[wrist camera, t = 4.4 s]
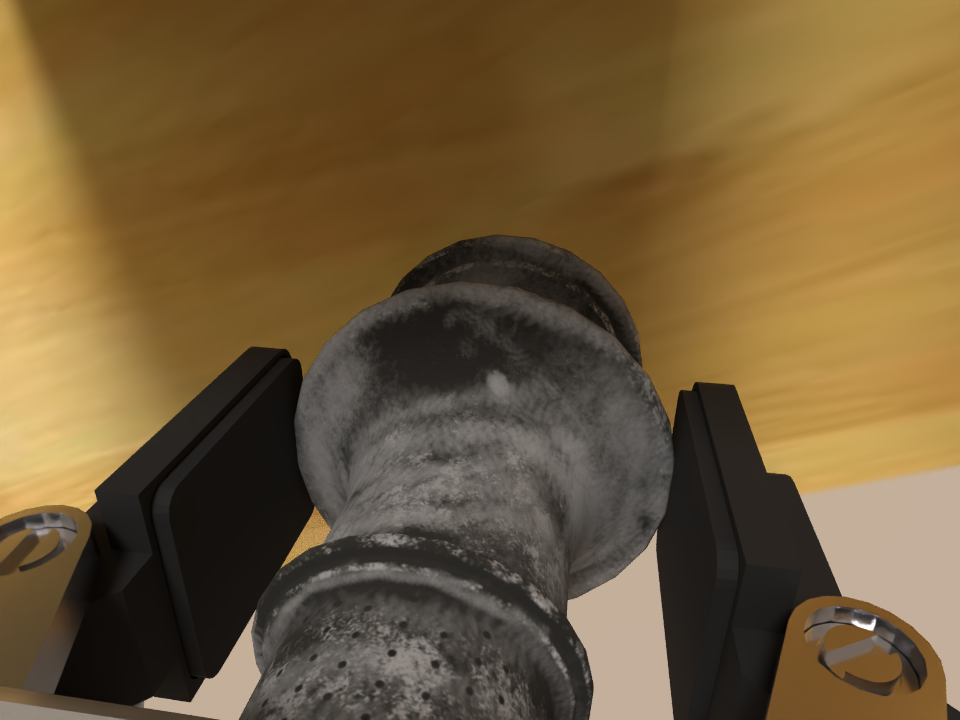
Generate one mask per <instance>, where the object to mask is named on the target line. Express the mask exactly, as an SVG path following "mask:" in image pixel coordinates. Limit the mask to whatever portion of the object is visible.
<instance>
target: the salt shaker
mask: <svg viewBox="0 0 960 720" xmlns="http://www.w3.org/2000/svg"><path fill="white" fill-rule="evenodd" d="M294 427H295V437H296V446H297V456H298V465H299V468H300V471H301V474H302V477H303V480H304V482H305V485H306V488H307V490H308V493H309V496H310V498H311V501H312V502H313V504H314V505H315V507H316V508H317V510H318V511H319V513H320V514H321V515H322V517H323V518H324V520H325V521H326V523H327V524H328V525H329V527H330V528H331V531H330V532H329V534H328V536H327V538H326V540H325V542H324V544H322V545H319V546H316V547H312V548H309V549H308V550H306V551H305V552H304V553H302V554H301V555H299V556H298V557H296V558H295V559H294V560H292V561H291V562H289V563H288V564H286V565H285V566H284V567H282V568H281V569H280V570H279V571H278V572H277V574H276V575H275V577H274V578H273V580H272V581H271V583H270V584H269V586H268V587H267V588H266V590H265V591H264V593H263V594H262V596H261V597H260V599H259V601H258V603H257V608H256V613H255V617H254V622H253V627H252V631H251V633H252V639H253V646H254V653H255V659H256V664H257V666H258V668H259V671H260V673H261V675H262V677H261V679H260V680H259V682H258V684H257V686H256V688H255V690H254V691H253V694H252V695H251V697H250V699H249V701H248V703H247V705H246V707H245V709H244V711H243V713H242V714H241V716H240V718H239V720H589V717H590V710H591V704H592V698H593V680H592V676H591V671H590V666H589V662H588V657H587V653H586V650H585V648H584V646H583V644H582V643H581V641H580V639H579V638H578V636H577V634H576V633H575V631H574V630H573V627H572V626H571V624H570V622H569V621H568V619H567V601H568V600H570V599H574V598H577V597H579V596H581V595H583V594H585V593H587V592H589V591H590V590H592V589H594V588H596V587H598V586H600V585H602V584H604V583H605V582H607V581H609V580H611V579H613V578H615V577H616V576H617V575H618V574H619V573H620V572H622V571H623V570H624V569H625V568H626V567H627V566H628V565H629V564H630V563H631V562H632V561H633V560H634V559H635V558H636V557H637V556H638V555H640V554H641V553H642V552H643V551H644V550H645V549H646V548H647V546H648V544H649V543H650V541H651V539H652V537H653V536H654V534H655V532H656V530H657V529H658V527H659V525H660V524H661V522H662V520H663V518H664V517H665V514H666V509H667V503H668V497H669V492H670V486H671V480H672V474H673V466H674V451H673V443H672V434H671V426H670V421H669V419H668V416H667V414H666V412H665V410H664V408H663V405H662V403H661V401H660V399H659V397H658V394H657V392H656V390H655V388H654V385H653V383H652V381H651V379H650V377H649V376H648V375H647V373H646V372H645V371H644V370H643V369H642V360H641V352H640V344H639V337H638V331H637V329H636V326H635V324H634V322H633V320H632V317H631V315H630V313H629V311H628V309H627V306H626V304H625V302H624V300H623V299H622V297H621V296H620V295H619V294H618V293H617V291H616V290H615V289H614V288H613V287H612V286H611V284H610V283H609V282H608V281H607V280H606V278H605V277H604V276H603V275H602V274H601V272H599V271H598V270H596V269H595V268H593V267H592V266H590V265H589V264H588V263H586V262H585V261H583V260H582V259H580V258H579V257H577V256H576V255H575V254H573V253H572V252H570V251H568V250H565V249H562V248H560V247H557V246H554V245H551V244H549V243H546V242H543V241H540V240H537V239H535V238H527V237H516V236H505V235H492V236H486V237H480V238H474V239H468V240H462V241H459V242H456V243H454V244H452V245H450V246H448V247H446V248H444V249H442V250H439V251H437V252H435V253H433V254H431V255H429V256H427V257H426V258H425V259H424V260H423V261H422V262H420V263H419V264H418V265H417V266H416V267H415V268H414V269H412V270H411V271H410V272H409V273H408V274H407V275H406V276H404V277H403V278H402V280H401V281H400V283H399V284H398V286H397V287H396V289H395V291H394V292H393V294H392V295H391V297H390V298H388V299H386V300H384V301H381V302H379V303H377V304H375V305H373V306H370V307H368V308H366V309H364V310H362V311H361V312H359V313H358V314H357V315H356V316H355V317H354V318H353V319H351V320H350V321H349V322H348V323H347V324H346V325H345V326H344V327H342V328H341V329H340V330H339V331H338V332H337V333H336V334H334V335H333V336H332V337H331V338H330V339H329V340H328V341H327V342H326V343H325V344H324V346H323V347H322V349H321V351H320V352H319V354H318V356H317V358H316V359H315V361H314V363H313V364H312V366H311V368H310V369H309V371H308V373H307V374H306V376H305V378H304V379H303V381H302V386H301V390H300V395H299V399H298V404H297V408H296V413H295V417H294Z"/></svg>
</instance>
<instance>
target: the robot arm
mask: <svg viewBox="0 0 960 720" xmlns="http://www.w3.org/2000/svg"><path fill="white" fill-rule="evenodd" d="M302 381H303V376H302V368H301V364H300V362H299V360H298V359H292V358H291V355H290V353H289V352H288V351H287V350H286V349H275V348H262V347H251V348H249V349H248V350H246V351H245V352H244V353H243V354H242V355H241V356H240V357H239V358H238V359H237V360H236V361H235V362H233V363H232V364H231V365H230V366H229V367H228V368H227V369H226V370H225V371H224V372H223V373H221V374H220V375H219V376H218V377H217V378H216V379H215V380H214V381H213V382H212V383H211V384H210V385H208V386H207V387H206V388H205V389H204V390H203V391H202V392H201V393H200V394H199V395H198V396H196V397H195V398H194V399H193V400H192V401H191V402H190V403H189V404H188V405H187V406H186V407H185V408H183V409H182V410H181V411H180V412H179V413H178V414H177V415H176V416H175V417H174V418H173V419H171V420H170V421H169V422H168V423H167V424H166V425H165V426H164V427H163V428H162V429H161V430H160V431H158V432H157V433H156V434H155V435H154V436H153V437H152V438H151V439H150V440H149V441H148V442H146V443H145V444H144V445H143V446H142V447H141V448H140V449H139V450H138V451H137V452H136V453H135V454H133V455H132V456H131V457H130V458H129V459H128V460H127V461H126V462H125V463H124V464H123V465H121V466H120V467H119V468H118V469H117V470H116V471H115V472H114V473H113V474H112V475H111V476H110V477H108V478H107V479H106V480H105V481H104V482H103V483H102V484H101V485H100V486H99V487H98V488H96V489H95V490H94V491H95V494H96V498H97V502H96V503H95V504H94V505H93V506H92V507H91V508H90V509H89V510H88V511H87V512H83V511H82V510H80V509H79V508H75V507H70V506H65V505H50V506H41V507H36V508H31V509H26V510H23V511H20V512H17V513H14V514H11V515H8V516H5V517H3V518H1V519H0V720H217V719H211V718H205V717H199V716H192V715H186V714H179V713H173V712H166V711H160V710H153V709H146V708H144V701H145V700H147V699H149V698H151V697H153V696H154V697H159V698H166V699H172V700H179V701H186V702H191V701H192V699H193V697H194V696H195V694H196V692H197V691H198V689H199V688H200V686H201V684H202V683H203V681H204V679H205V678H209V679H210V678H213V677H215V676H216V675H217V674H218V672H219V671H220V669H221V668H222V666H223V664H224V663H225V661H226V659H227V658H228V656H229V654H230V652H231V651H232V649H233V647H234V646H235V644H236V642H237V641H238V639H239V637H240V636H241V634H242V632H243V630H244V629H245V627H246V625H247V623H248V622H249V620H250V619H251V617H252V615H253V613H254V612H255V610H256V608H257V603H258V601H259V599H260V597H261V596H262V594H263V593H264V591H265V590H266V588H267V587H268V586H269V584H270V583H271V581H272V580H273V578H274V577H275V575H276V574H277V572H278V571H279V569H280V568H281V566H282V564H283V563H284V561H285V559H286V557H287V556H288V554H289V552H290V551H291V549H292V547H293V546H294V544H295V542H296V540H297V539H298V537H299V535H300V534H301V532H302V530H303V529H304V527H305V525H306V524H307V522H308V520H309V518H310V517H311V515H312V513H313V510H314V506H315V505H314V504H313V502H312V501H311V498H310V496H309V493H308V490H307V488H306V485H305V482H304V480H303V477H302V474H301V471H300V468H299V465H298V456H297V446H296V437H295V427H294V417H295V413H296V408H297V404H298V399H299V395H300V390H301V386H302ZM672 443H673V451H674V466H673V474H672V480H671V486H670V492H669V497H668V503H667V509H666V514H665V517H664V518H663V520H662V522H661V524H660V525H659V527H658V530H657V544H656V551H657V562H658V572H659V581H660V591H661V601H662V610H663V620H664V629H665V640H666V648H667V659H668V668H669V678H670V687H671V697H672V707H673V717H674V720H960V712H959V711H958V710H956V709H955V708H953V707H952V706H950V705H949V704H947V700H946V679H945V674H944V670H943V666H942V663H941V660H940V658H939V657H938V655H937V654H936V652H935V651H934V649H933V648H932V646H931V645H930V643H929V642H928V641H927V640H926V639H925V638H924V637H922V635H920V634H919V633H918V632H917V631H916V630H915V629H914V628H913V627H912V626H910V625H909V624H908V623H906V622H905V621H903V620H901V619H900V618H898V617H897V616H895V615H894V614H892V613H890V612H889V611H886V610H884V609H882V608H880V607H877V606H875V605H873V604H871V603H868V602H864V601H860V600H856V599H852V598H848V597H842V595H841V593H840V590H839V588H838V586H837V583H836V581H835V578H834V576H833V574H832V571H831V569H830V567H829V564H828V562H827V559H826V557H825V555H824V552H823V550H822V548H821V545H820V543H819V540H818V538H817V536H816V533H815V531H814V529H813V526H812V524H811V521H810V519H809V517H808V514H807V512H806V510H805V507H804V505H803V502H802V500H801V498H800V495H799V493H798V490H797V488H796V486H795V483H794V482H793V480H792V478H791V477H790V476H788V475H785V474H775V473H767V472H766V469H765V466H764V464H763V461H762V458H761V455H760V453H759V450H758V447H757V445H756V442H755V439H754V436H753V434H752V431H751V428H750V426H749V423H748V420H747V418H746V415H745V412H744V409H743V407H742V404H741V401H740V399H739V396H738V393H737V390H736V388H735V386H734V385H727V384H715V383H702V382H695V384H694V386H693V389H692V391H686V390H681V391H680V392H679V396H678V401H677V408H676V414H675V420H674V427H673V433H672Z"/></svg>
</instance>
